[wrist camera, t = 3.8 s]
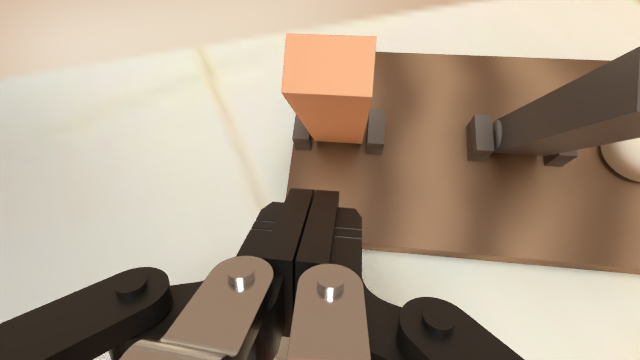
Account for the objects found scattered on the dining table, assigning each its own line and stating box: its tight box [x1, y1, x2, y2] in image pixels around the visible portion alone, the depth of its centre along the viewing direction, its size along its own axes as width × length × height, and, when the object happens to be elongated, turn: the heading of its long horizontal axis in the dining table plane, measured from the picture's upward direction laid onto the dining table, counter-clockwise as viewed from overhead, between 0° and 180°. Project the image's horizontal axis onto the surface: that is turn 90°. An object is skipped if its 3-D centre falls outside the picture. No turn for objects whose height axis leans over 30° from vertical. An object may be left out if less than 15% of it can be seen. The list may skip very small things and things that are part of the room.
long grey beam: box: [492, 47, 640, 156], centre depth 16 cm, size 3×2×12 cm, turn 84°
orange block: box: [281, 34, 376, 144], centre depth 17 cm, size 3×2×12 cm, turn 84°
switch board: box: [286, 52, 640, 274], centre depth 22 cm, size 24×14×4 cm, turn 84°
